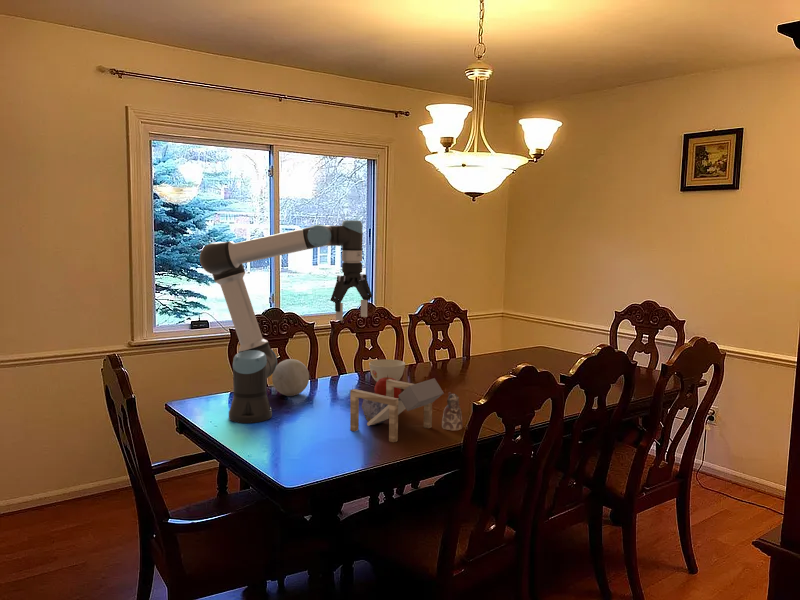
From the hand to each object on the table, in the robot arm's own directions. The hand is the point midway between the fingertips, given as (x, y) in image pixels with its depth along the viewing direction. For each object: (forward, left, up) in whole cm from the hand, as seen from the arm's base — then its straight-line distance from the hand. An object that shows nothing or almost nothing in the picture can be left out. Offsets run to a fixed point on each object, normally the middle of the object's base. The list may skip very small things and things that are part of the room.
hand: (351, 318), depth 234 cm
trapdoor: (-9, -35, -28) cm, 46 cm away
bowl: (+37, +13, -35) cm, 52 cm away
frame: (-9, -27, -35) cm, 45 cm away
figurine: (+6, -42, -35) cm, 55 cm away
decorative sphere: (-2, +32, -35) cm, 47 cm away
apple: (+7, -12, -35) cm, 38 cm away
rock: (-8, -22, -30) cm, 38 cm away
